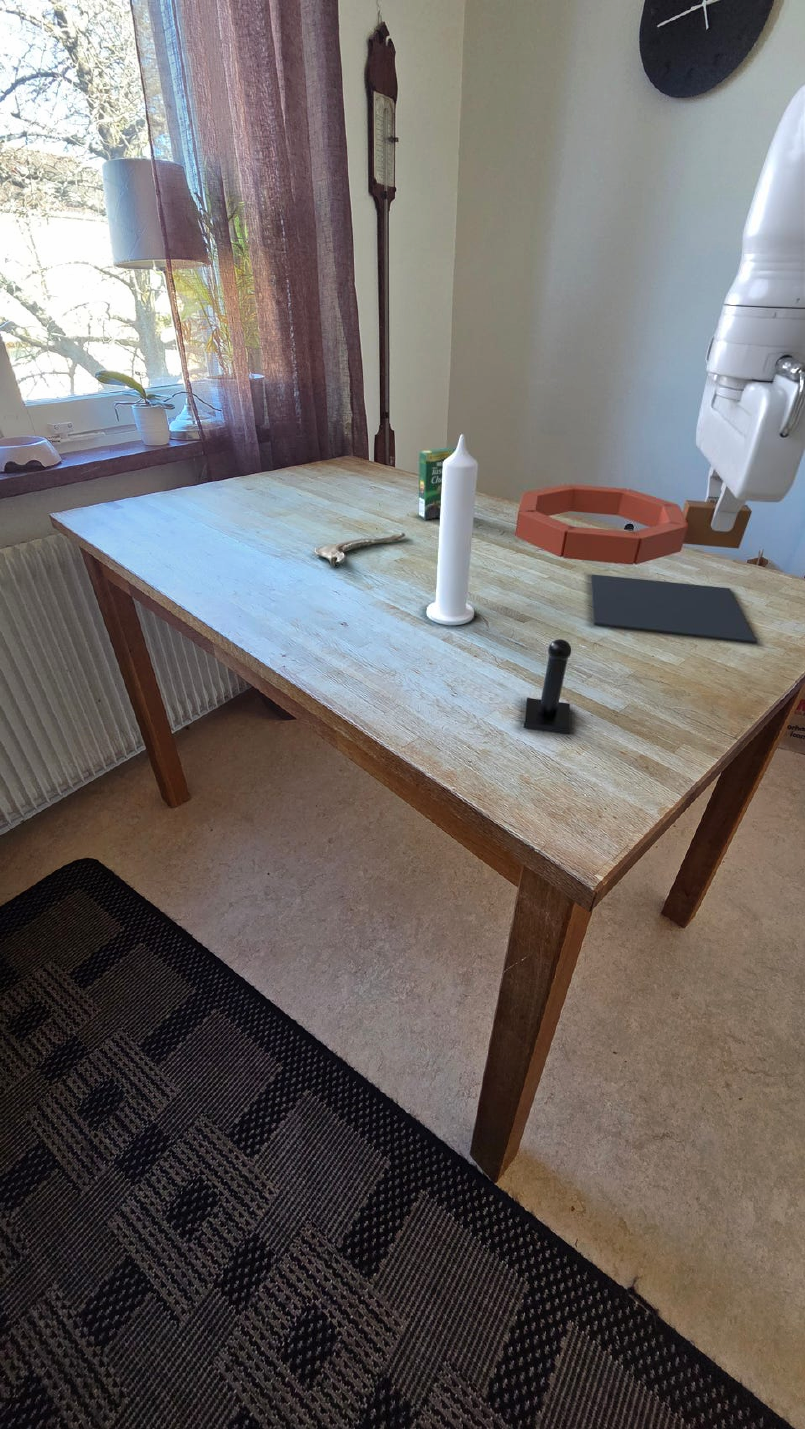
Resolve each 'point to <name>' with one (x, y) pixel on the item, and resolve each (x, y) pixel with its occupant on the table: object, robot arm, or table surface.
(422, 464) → the coffee box
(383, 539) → the jawbone
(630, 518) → the hoop
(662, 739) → the table surface
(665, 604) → the mat
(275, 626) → the table surface
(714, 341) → the robot arm
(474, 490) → the candle
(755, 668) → the table surface
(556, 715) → the peg stand
